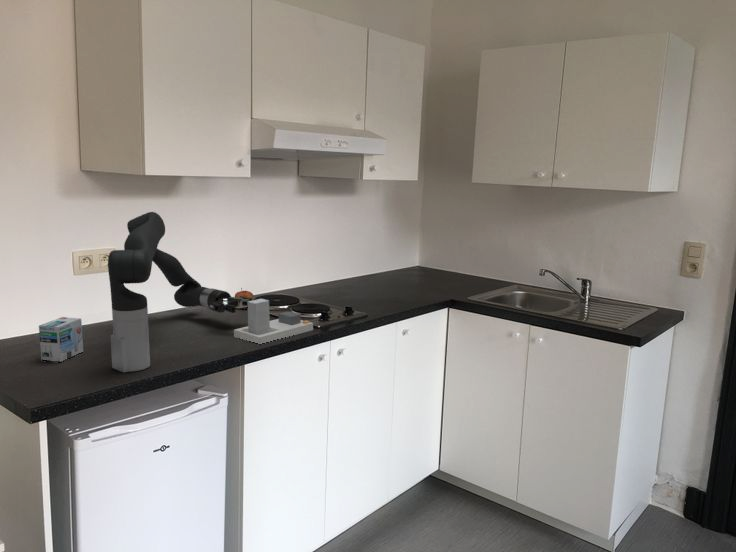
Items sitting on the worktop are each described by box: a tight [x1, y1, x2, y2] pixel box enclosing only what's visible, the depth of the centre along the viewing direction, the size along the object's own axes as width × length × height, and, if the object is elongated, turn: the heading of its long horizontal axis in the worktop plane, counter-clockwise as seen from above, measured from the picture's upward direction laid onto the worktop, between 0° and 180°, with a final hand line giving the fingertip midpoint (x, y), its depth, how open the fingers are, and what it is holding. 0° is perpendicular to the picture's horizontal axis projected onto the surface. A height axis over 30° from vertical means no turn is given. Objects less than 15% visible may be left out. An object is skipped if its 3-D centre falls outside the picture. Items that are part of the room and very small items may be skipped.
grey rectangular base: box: [233, 311, 314, 345], centre depth 211 cm, size 24×13×6 cm, turn 140°
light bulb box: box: [38, 316, 84, 362], centre depth 182 cm, size 11×7×11 cm, turn 170°
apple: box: [234, 287, 254, 310], centre depth 245 cm, size 7×7×8 cm
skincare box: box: [247, 298, 271, 335], centre depth 205 cm, size 6×4×12 cm
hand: (245, 307), depth 209 cm, fingers open, 8 cm apart
